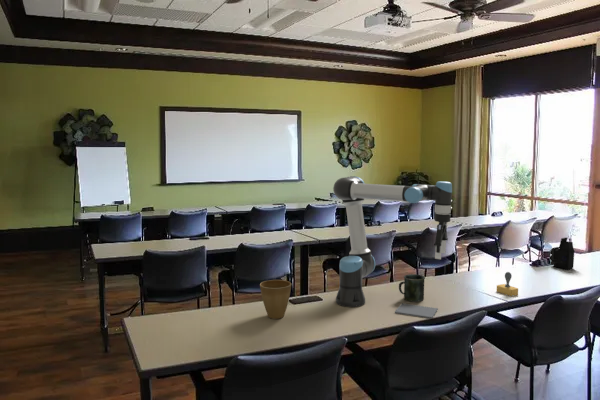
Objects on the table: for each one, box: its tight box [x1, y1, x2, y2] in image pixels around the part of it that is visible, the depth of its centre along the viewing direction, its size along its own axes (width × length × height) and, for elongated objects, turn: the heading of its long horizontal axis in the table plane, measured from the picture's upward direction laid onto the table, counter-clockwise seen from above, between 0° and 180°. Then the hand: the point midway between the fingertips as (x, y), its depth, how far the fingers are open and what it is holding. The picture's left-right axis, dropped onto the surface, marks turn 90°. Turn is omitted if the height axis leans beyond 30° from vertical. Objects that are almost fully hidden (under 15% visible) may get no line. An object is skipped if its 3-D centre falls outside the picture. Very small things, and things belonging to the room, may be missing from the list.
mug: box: [398, 273, 426, 302], centre depth 265 cm, size 11×15×12 cm
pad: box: [394, 302, 439, 320], centre depth 247 cm, size 18×14×1 cm
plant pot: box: [259, 279, 292, 320], centre depth 239 cm, size 15×15×16 cm
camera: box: [549, 237, 575, 271], centre depth 332 cm, size 10×14×20 cm
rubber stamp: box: [496, 271, 519, 297], centre depth 276 cm, size 10×6×12 cm, turn 28°
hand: (440, 256), depth 248 cm, fingers open, 13 cm apart
